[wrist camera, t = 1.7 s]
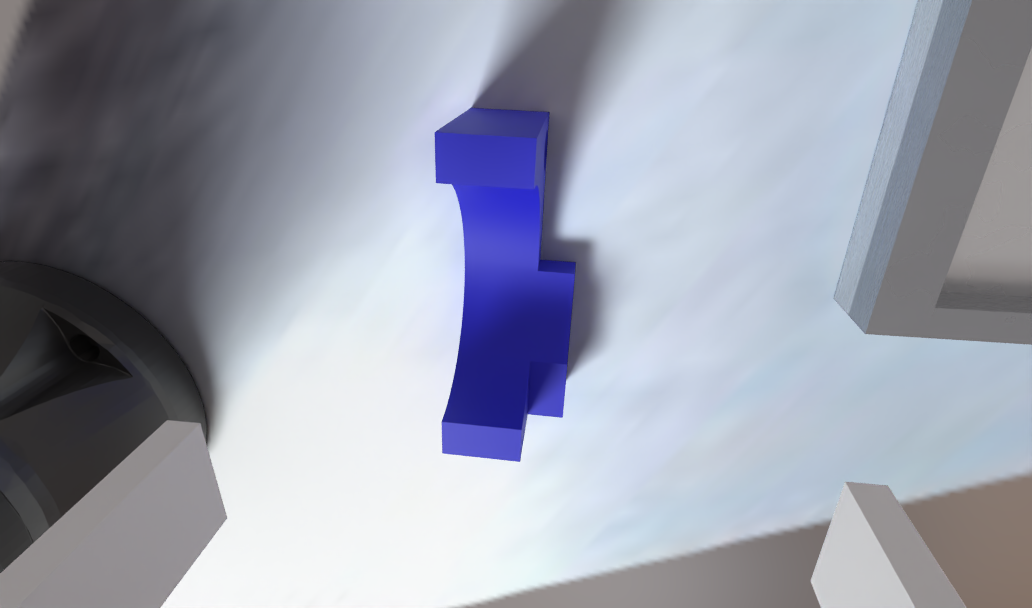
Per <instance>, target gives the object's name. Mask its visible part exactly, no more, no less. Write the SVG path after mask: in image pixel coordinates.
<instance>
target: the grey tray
mask: <svg viewBox="0 0 1032 608" xmlns="http://www.w3.org/2000/svg"><path fill="white" fill-rule="evenodd" d="M834 300H835V301H836V302H837V303H838V304H839V305H840V307H841V308H842V309H843V310H844V311H845V312H846V313H847V314H848V315H849V316H850V318H851V319H852V320H853V321H854V322H855V323H856V324H857V325H858V326H859V328H860V329H861V330H862V331H863V332H864V333H865V334H875V335H890V336H906V337H922V338H937V339H953V340H969V341H984V342H1000V343H1016V344H1032V0H918V4H917V7H916V11H915V14H914V18H913V22H912V25H911V29H910V32H909V36H908V39H907V43H906V46H905V50H904V53H903V57H902V60H901V64H900V67H899V71H898V74H897V78H896V81H895V85H894V88H893V92H892V95H891V99H890V102H889V106H888V109H887V113H886V117H885V120H884V124H883V127H882V131H881V134H880V138H879V141H878V145H877V148H876V152H875V155H874V159H873V162H872V166H871V169H870V173H869V176H868V180H867V183H866V187H865V190H864V194H863V197H862V201H861V204H860V208H859V212H858V215H857V219H856V222H855V226H854V229H853V233H852V236H851V240H850V243H849V247H848V250H847V254H846V257H845V261H844V264H843V268H842V271H841V275H840V278H839V282H838V285H837V289H836V292H835V296H834Z"/></svg>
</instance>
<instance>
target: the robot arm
mask: <svg viewBox="0 0 1032 608" xmlns="http://www.w3.org/2000/svg"><path fill="white" fill-rule="evenodd" d="M206 431H207V430H206V419H205V413H204V408H203V404H202V401H201V398H200V395H199V393H198V390H197V388H196V385H195V383H194V381H193V379H192V377H191V375H190V374H189V372H188V370H187V368H186V367H185V365H184V364H183V362H182V360H181V359H180V358H179V356H178V355H177V353H176V352H175V351H174V349H173V348H172V347H171V346H170V345H169V343H168V342H167V341H166V340H165V339H164V338H163V336H162V335H161V334H160V333H159V332H158V331H157V330H156V329H155V328H154V327H153V326H152V325H151V324H150V323H149V322H148V321H146V320H145V319H144V318H143V317H142V316H141V315H140V314H138V313H137V312H136V311H135V310H133V309H132V308H131V307H130V306H128V305H127V304H125V303H124V302H122V301H121V300H120V299H118V298H117V297H115V296H113V295H112V294H110V293H109V292H107V291H105V290H104V289H102V288H100V287H98V286H96V285H94V284H92V283H90V282H88V281H86V280H84V279H82V278H80V277H77V276H75V275H72V274H70V273H67V272H64V271H61V270H58V269H55V268H51V267H47V266H43V265H38V264H33V263H25V262H0V608H160V607H161V606H162V605H163V603H164V602H165V601H166V599H167V598H168V597H169V595H170V594H171V592H172V591H173V590H174V588H175V587H176V586H177V584H178V583H179V582H180V580H181V579H182V578H183V576H184V575H185V574H186V572H187V571H188V570H189V568H190V567H191V566H192V564H193V563H194V562H195V560H196V559H197V558H198V556H199V555H200V554H201V552H202V551H203V550H204V548H205V547H206V546H207V544H208V543H209V542H210V540H211V539H212V538H213V536H214V535H215V534H216V532H217V531H218V530H219V528H220V527H221V526H222V524H223V523H224V522H225V520H226V519H227V516H226V512H225V509H224V505H223V501H222V498H221V494H220V491H219V487H218V484H217V480H216V477H215V473H214V470H213V466H212V463H211V459H210V456H209V452H208V449H207V445H206ZM811 583H812V586H813V588H814V591H815V594H816V596H817V599H818V601H819V604H820V606H821V608H967V607H966V606H965V604H964V603H963V601H962V600H961V598H960V597H959V595H958V594H957V592H956V590H955V589H954V587H953V586H952V584H951V583H950V581H949V580H948V578H947V577H946V575H945V573H944V572H943V570H942V569H941V567H940V566H939V565H938V563H937V561H936V559H935V558H934V557H933V555H932V553H931V552H930V550H929V549H928V547H927V546H926V544H925V543H924V541H923V539H922V538H921V536H920V535H919V533H918V532H917V530H916V529H915V527H914V526H913V524H912V522H911V521H910V519H909V518H908V516H907V515H906V513H905V512H904V510H903V508H902V507H901V505H900V504H899V502H898V501H897V499H896V498H895V496H894V495H893V493H892V491H891V490H890V488H889V487H888V486H886V485H875V484H864V483H853V482H845V484H844V486H843V489H842V492H841V495H840V498H839V501H838V504H837V507H836V510H835V512H834V515H833V518H832V521H831V524H830V527H829V530H828V533H827V536H826V538H825V542H824V544H823V547H822V550H821V553H820V556H819V559H818V561H817V564H816V567H815V571H814V573H813V576H812V579H811Z"/></svg>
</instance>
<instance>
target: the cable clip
mask: <svg viewBox="0 0 1032 608" xmlns="http://www.w3.org/2000/svg"><path fill="white" fill-rule="evenodd" d="M548 124H549V112H537V111H519V110H501V109H483V108H470V109H469V110H467V111H466V112H464V113H463V114H461V115H460V116H458V117H457V118H455V119H454V120H452V121H451V122H449V123H448V124H446V125H445V126H443V127H442V128H440V129H439V130H437V131H436V132H435V163H436V183H443V184H452V185H453V187H454V189H455V191H456V194H457V197H458V201H459V204H460V209H461V215H462V222H463V231H464V246H465V287H464V306H463V318H462V328H461V336H460V344H459V351H458V358H457V364H456V369H455V374H454V379H453V384H452V388H451V393H450V397H449V400H448V404H447V407H446V411H445V414H444V417H443V420H442V453H444V454H454V455H463V456H472V457H481V458H491V459H500V460H509V461H518V462H520V458H521V452H522V445H523V439H524V433H525V426H526V420H527V414H532V415H542V416H552V417H562V418H563V407H564V396H565V385H566V374H567V362H568V350H569V338H570V326H571V314H572V302H573V291H574V280H575V265H576V262H565V261H552V260H540V257H541V240H542V224H543V207H544V190H545V174H546V157H547V141H548Z"/></svg>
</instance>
